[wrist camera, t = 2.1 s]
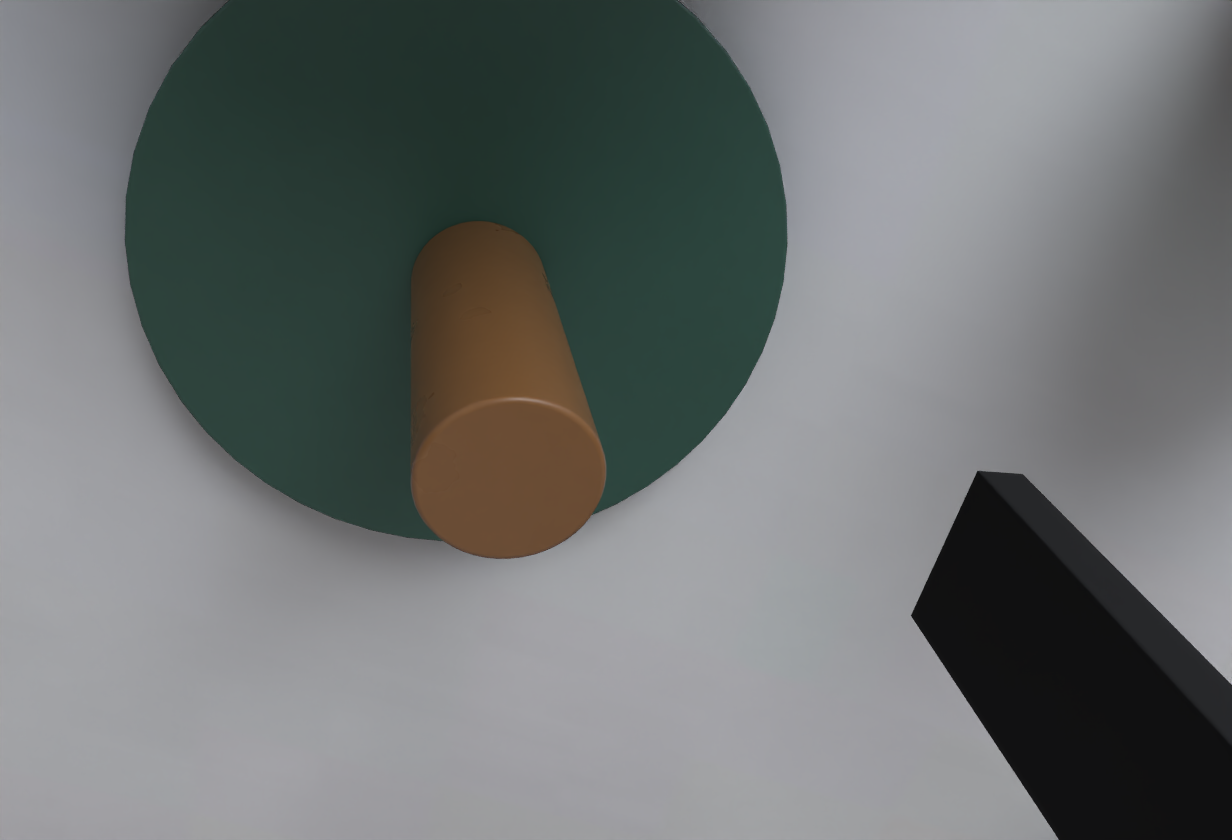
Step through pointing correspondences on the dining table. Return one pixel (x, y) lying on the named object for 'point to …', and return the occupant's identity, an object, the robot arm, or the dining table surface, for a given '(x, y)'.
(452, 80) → the canister lid
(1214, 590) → the dining table surface
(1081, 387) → the dining table surface
